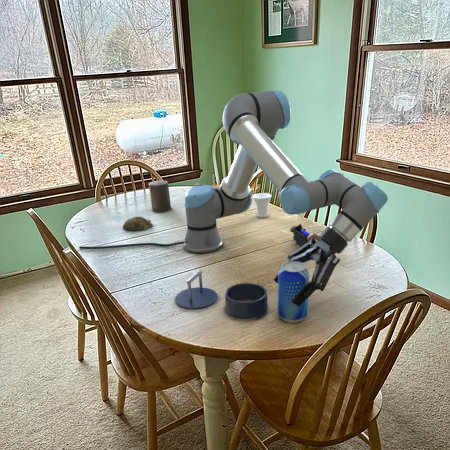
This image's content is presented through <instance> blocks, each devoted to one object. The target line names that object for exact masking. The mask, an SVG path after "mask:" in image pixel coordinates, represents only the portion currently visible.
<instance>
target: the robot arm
mask: <svg viewBox="0 0 450 450" xmlns="http://www.w3.org/2000/svg"><path fill="white" fill-rule="evenodd" d="M291 108H292V107H291V103H290V100H289V98H288V96H287V95H286V94H285V93H284V92H283V91H282V90H279V89H276V90H275V89H274V90H273V89H269V90H262V91H254V92H252V91H251V92H241V93H238V94H236V95H234V96H232V98H230V99H229V101H228V102H227V103H226V104H225V106H224V109H223V112H222V125H223V129H224V131H225V133H226V135H227V137H228V138H229V139H230V141H232V143H234V144H235V145H239V146H238V148H237V151H236V153H235V156H234V159H233V162H232V164H231V167H230V170H229V173H228V175H226V176H225V177H223V179H222V180H221V183H220V185H219V186H218V187H214V186H212V185H208V184H203V185H204V186H197V187H194V186H193V187H194V188H192V187H191V188H189V189H188V190H187V191H186V192H185V194H184V204H183V205H184V210H185V218H186V234H185V237H184V240H182V241H177V242H173V243H158V242H141V243H140V242H137V243H127V244H116V245H115V244H114V245H104V246H103V245H102V246H100V245H99V246H86V245H84V246H83V245H79V247H78V248H79V249H81V250H105V249H118V248H127V247H141V246H142V247H143V246H154V247H155V246H156V247H163V248H164V247H165V248H166V247H168V248H169V247H174V246H180V245H184V249H185V251H187V252H189V253H193V254H208V253H213V252H217V251H218V250H220V249H221V248H222V247H223V239H222V237H221V234H220V233H219V230H218V227H217V226H218V225H217V220H218V219H220V218H225V217H230V216H234V215H239V214H242V213H245V212H247V211H248V210H249V209H250V207H251V206H252V203H253V197H252V196H253V192H252V190H251V187H250V183H251V181H252V178H253V177H254V174H255V172H256V170H257V168H259V169H260V170H261V171H262V173H264V176H266V177H267V179H269V181H270V182H271V183H272V184H273V185H274V187H275V188H276V189H277V190H278V191H279V192H280V193H279V204H280V205H281V209H282V210H283V212H284V213H285V214H286V215H287V214H288V215H292V216H293V215H300V214H305V213H307V212H311V211H314V210H317V209H323V208H326V207H331V206H334V205H336V206H337V207H338V208H340V209H341V211H339V212H338V214H337V215H335V217H334V218H333V219H332V220H331V221H330V222H329V226H326V227H325V228H324V229H323V230H322V231H321V233H320V234H318V236H319V238H320V240H319V241H317V240H315V239H314V238H312V239H311V240H310V241H308V242H307V243H306V244H305V245H303V246H300V247H299V248H297V249H295V250H294V251H292V252H291V253H290V254H288V255H287V257H286V259H287V262H290V261H297V262H302V263H304V264H305V263H307V262H309V261H315V268H314V271H313V274H312V277H311V279H310V281H309V283H307V284H306V285H305V286H304V287H303V289H302V290H301V291H300V292H299V293H298V294H297V295H296V296H295V297H294V298H293V299H292V300H291V301H292V302H293V303H294V304H295V305H297V306H298V307H299V306H300V305H301V304H302V303H303V302H304V301H305V300H306V299H307V298H308V299H309V298H310V297H311V296H312V295H313V294H314V293H315V292H316V291H321V292H323V291H324V290H326V286H327V285H328V282H329V281H330V278H331V276H332V275H333V272H334V270H335V268H336V267H337V265H338V264H339V263H340V261H341V259H340V258H339V256H337V255H336V254H338V255H339V254H341V253H342V252H343V251H344V250H345V249H346V248H347V247H348V245H349V243H352V241H353V240H354V239H355V238H356V237H357V235H358V234H359V233H360V232H362V230H363V229H364V228H365V227H366V226H367V225H368V224H369V223H370V222H371V220H373V218H374V217H375V216H376V215H378V214H379V213H380V211H381V209H382V208H383V207H384V206H385V205H386V204H387V202H388V200H389V198H388V195H387V193H386V192H385V191H384V190H383V189H382V187H380V186H378V184H375V183H374V182H371V181H367V182H366V183H365V184H362V185H359V184H358V183H356V182H355V181H354V180H352V179H350V178H349V177H347V176H346V175H345V174H343V173H342V172H340V171H338V170H336V169H328V170H326V171H325V172H323V173H322V174H321V175H320V176H319V177H318V179H315V180H311V181H310V180H308V179H307V177H306V176H304V174H302V172H301V171H300V170H299V169H298V168H297V166H295V165H294V163H293V162H292V161H291V159H289V158H288V157H287V156H286V154H285V153H283V151H282V150H281V149H280V148H279V147H278V146H277V144H275V142H274V141H273V140H275V138H276V135H277V133H278V132H279V130H283V129H285V128H287V127H288V126H289V124H290V123H291V119H292V109H291ZM273 281H274V282H275V283H277V284H278V274H277V275H276V276H275V277H274V278H273Z"/></svg>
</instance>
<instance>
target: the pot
mask: <svg viewBox="0 0 450 450" xmlns="http://www.w3.org/2000/svg"><path fill="white" fill-rule="evenodd" d="M244 300H249V301H244ZM224 305H225V307H224V308H225V311H226V314H227V315H229V316H230V317H232V318H235V319H241V320H252V319H254V320H258V319H260V318H263V317H264V316H266V314H267V312H268V290H267V288H266V287H264V286H263V285H261V284H258V283H253V282H241V283H235V284H233V285H230V286H229V287H228V288H227V289H226V290H225V291H224Z"/></svg>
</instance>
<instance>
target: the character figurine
mask: <svg viewBox="0 0 450 450" xmlns="http://www.w3.org/2000/svg"><path fill="white" fill-rule="evenodd" d="M289 231H290V233H292V234H293V235H292V239H293V240H294V241H295V243H296V244H297V245H299V246H300V247H302V246H303V245H305V244H306V243H307V242H308V241H310V240H311V239H312V238H314V239H315V240H317V241H319V240H320V238H319V234H317V233H310V232H308V231H307V229H306V228H305V227H304V226H302V223H300V224H298V225H295V226H292V227H290V229H289Z"/></svg>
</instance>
